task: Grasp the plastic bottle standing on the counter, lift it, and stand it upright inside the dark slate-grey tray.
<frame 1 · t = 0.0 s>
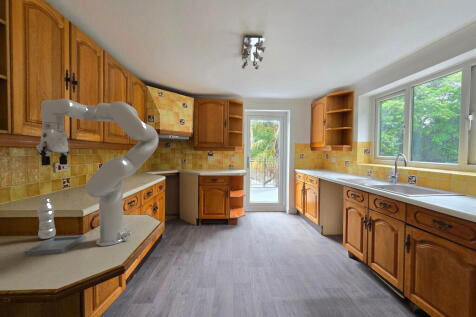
hand: (55, 165, 94), 37 cm above the counter, tool pointing down, fingers open, 9 cm apart
slate tray: (57, 246, 91), on the counter
plastic bottle: (47, 238, 102), on the counter
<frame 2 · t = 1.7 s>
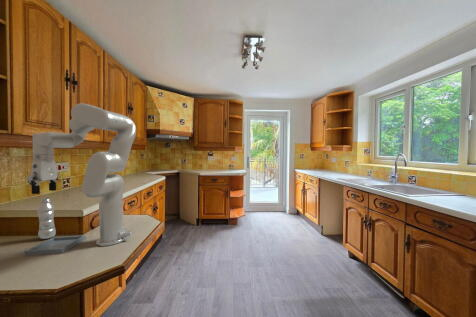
hand: (44, 192, 102), 23 cm above the counter, tool pointing down, fingers open, 9 cm apart
nothing on the counter moved.
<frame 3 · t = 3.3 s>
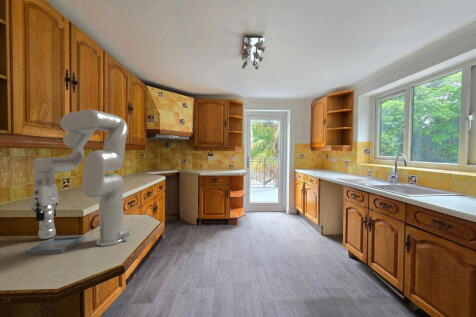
hand: (46, 218, 102), 10 cm above the counter, tool pointing down, fingers closed on plastic bottle, 6 cm apart
plastic bottle: (47, 238, 102), on the counter, touching gripper
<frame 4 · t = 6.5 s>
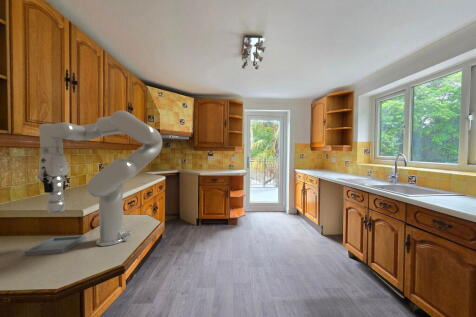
hand: (55, 190, 92), 25 cm above the counter, tool pointing down, fingers closed on plastic bottle, 6 cm apart
plastic bottle: (56, 213, 92), point 15 cm above the counter, touching gripper
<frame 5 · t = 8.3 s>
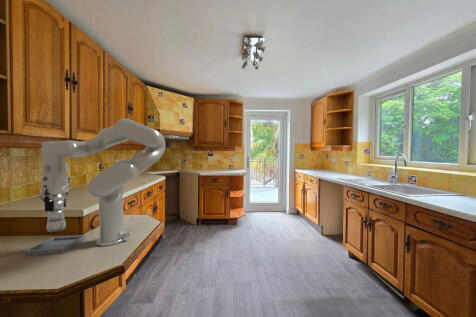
hand: (55, 208, 91), 17 cm above the counter, tool pointing down, fingers closed on plastic bottle, 6 cm apart
plastic bottle: (56, 231, 91), point 7 cm above the counter, touching gripper
when the fingers open (12 cm above the counter, at t = 9.8 s): plastic bottle drops 1 cm, resting on slate tray.
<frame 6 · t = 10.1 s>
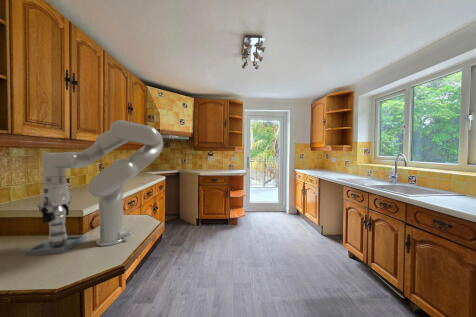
hand: (56, 218, 91), 13 cm above the counter, tool pointing down, fingers open, 9 cm apart
plastic bottle: (58, 245, 91), resting on slate tray
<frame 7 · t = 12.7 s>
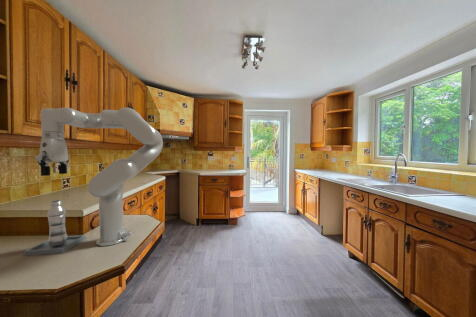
hand: (54, 174, 91), 32 cm above the counter, tool pointing down, fingers open, 9 cm apart
nothing on the counter moved.
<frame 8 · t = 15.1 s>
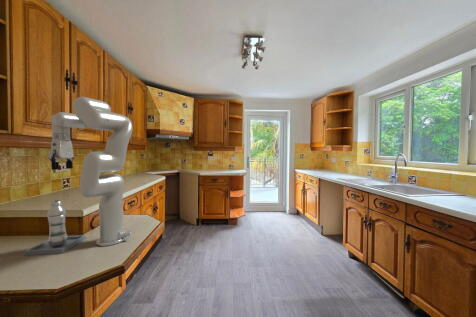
hand: (62, 169, 111), 34 cm above the counter, tool pointing down, fingers open, 9 cm apart
nothing on the counter moved.
at the end: plastic bottle inside the target area on the slate tray (0.1 cm from its centre), point 0.4 cm above the slate tray's base; plastic bottle tilted 0°; the gripper is holding nothing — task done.
